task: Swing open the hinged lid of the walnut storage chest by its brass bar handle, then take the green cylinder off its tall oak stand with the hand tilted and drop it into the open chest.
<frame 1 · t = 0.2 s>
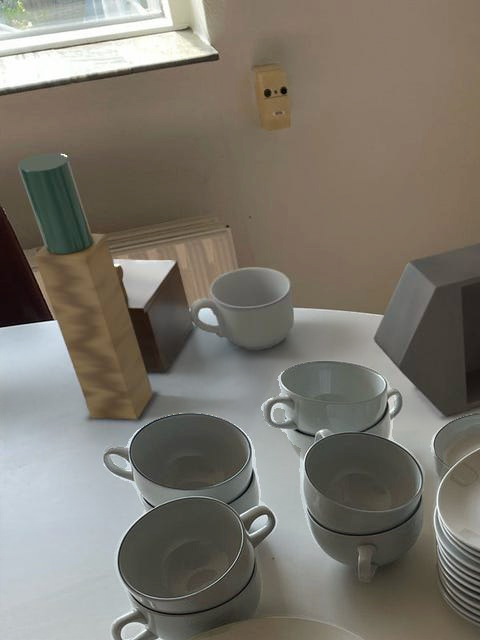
planter: (384, 353, 119), point 8 cm above the table
chest: (142, 347, 139), on the table
lid: (118, 269, 131), point 11 cm above the table, hinge at 0.0°
teacup: (249, 342, 140), on the table
stand: (122, 405, 129), on the table
green cylinder: (70, 244, 114), point 21 cm above the table, touching stand
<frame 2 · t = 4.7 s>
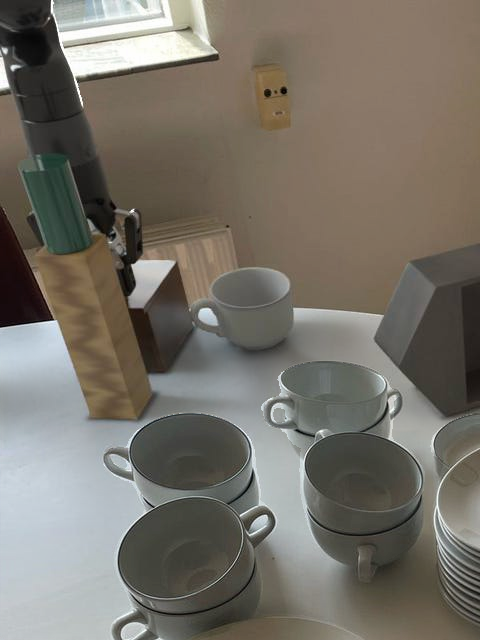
hand: (107, 292, 128), 10 cm above the table, tool pointing down, fingers closed on lid, 5 cm apart
lid: (118, 269, 131), point 11 cm above the table, hinge at -0.1°, touching gripper
everything else where it was.
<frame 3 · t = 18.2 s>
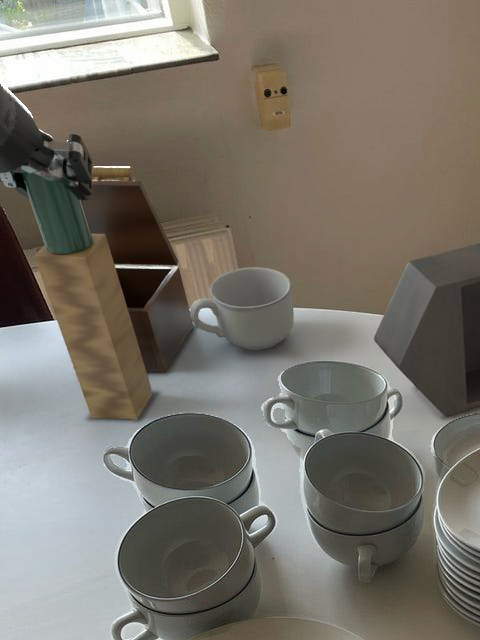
hand: (60, 191, 112), 26 cm above the table, tool tilted 45°, fingers closed on green cylinder, 5 cm apart
lid: (124, 211, 132), point 16 cm above the table, hinge at 68.1°
green cylinder: (70, 244, 114), point 21 cm above the table, touching gripper, stand
everything else where it was.
when the fingers open (12 cm above the table, at t = 29.0 s): green cylinder drops 6 cm, resting on chest.
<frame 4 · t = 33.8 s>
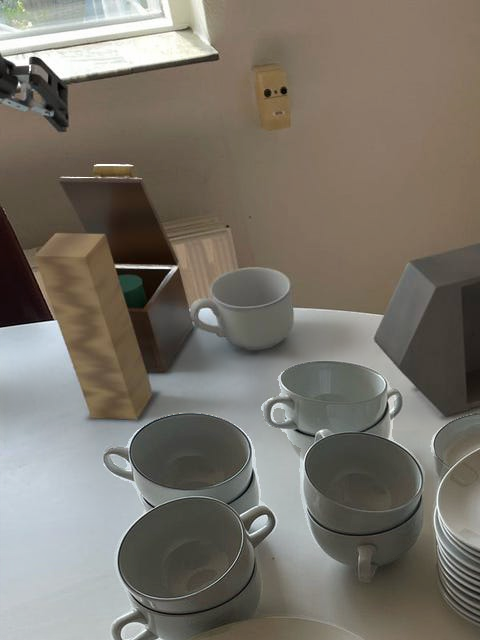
hand: (24, 124, 108), 33 cm above the table, tool tilted 45°, fingers open, 8 cm apart
lid: (125, 210, 132), point 16 cm above the table, hinge at 70.3°
green cylinder: (140, 346, 138), point 1 cm above the table, touching chest
everything else where it was.
at the end: lid at +70° (first picture: +0°); green cylinder inside the target area in the chest (1.0 cm from its centre), point 0.8 cm above the chest's base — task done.
